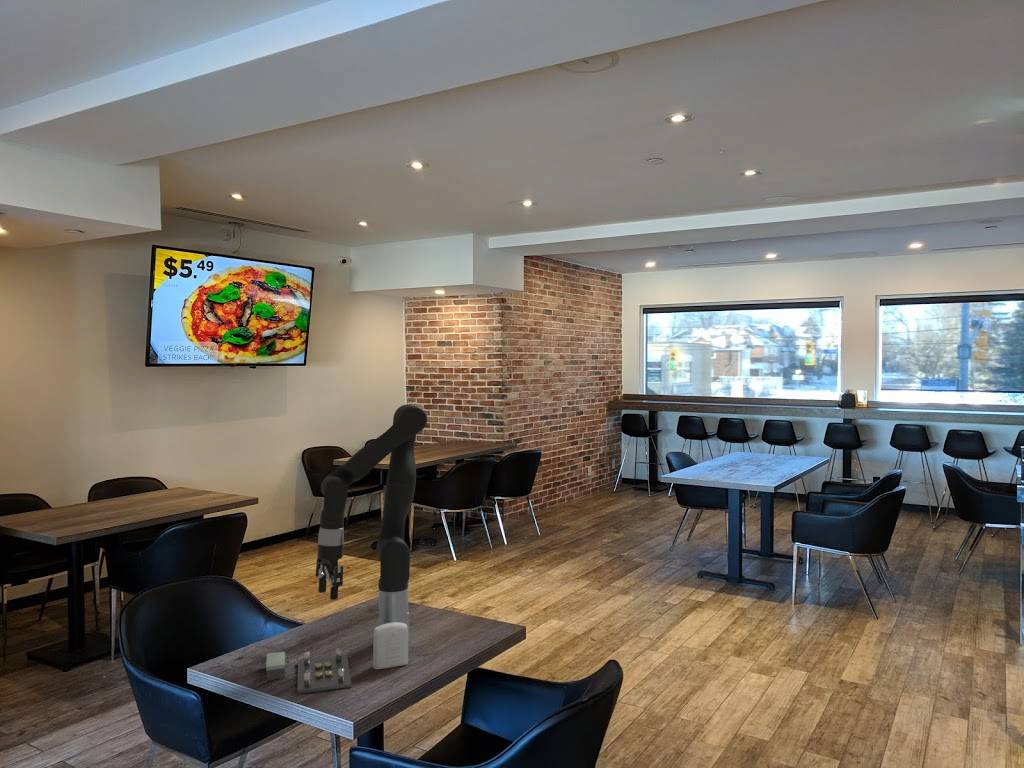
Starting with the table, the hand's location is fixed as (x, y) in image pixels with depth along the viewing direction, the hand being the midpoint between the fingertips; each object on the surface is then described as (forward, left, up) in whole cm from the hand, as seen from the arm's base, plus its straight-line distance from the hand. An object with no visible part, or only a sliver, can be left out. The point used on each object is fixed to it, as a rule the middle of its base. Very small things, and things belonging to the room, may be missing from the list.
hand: (327, 595), depth 218 cm
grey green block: (+15, +9, -18) cm, 25 cm away
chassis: (+2, +15, -18) cm, 24 cm away
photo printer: (-17, +14, -18) cm, 29 cm away
